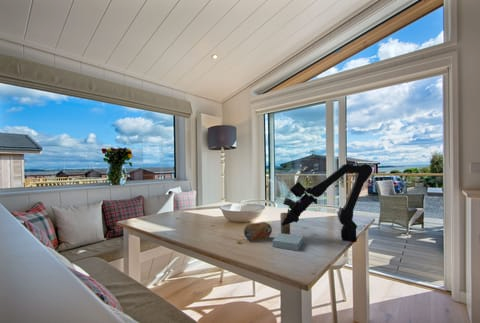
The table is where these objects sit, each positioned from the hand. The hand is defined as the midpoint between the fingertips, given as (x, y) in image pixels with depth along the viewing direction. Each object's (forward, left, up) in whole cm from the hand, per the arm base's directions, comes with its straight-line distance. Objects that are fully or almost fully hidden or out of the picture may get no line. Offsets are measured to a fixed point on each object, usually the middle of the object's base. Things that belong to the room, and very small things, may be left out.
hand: (282, 223), depth 126 cm
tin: (+11, +10, -7) cm, 16 cm away
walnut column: (-1, 0, -7) cm, 7 cm away
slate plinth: (-6, +12, -7) cm, 15 cm away
